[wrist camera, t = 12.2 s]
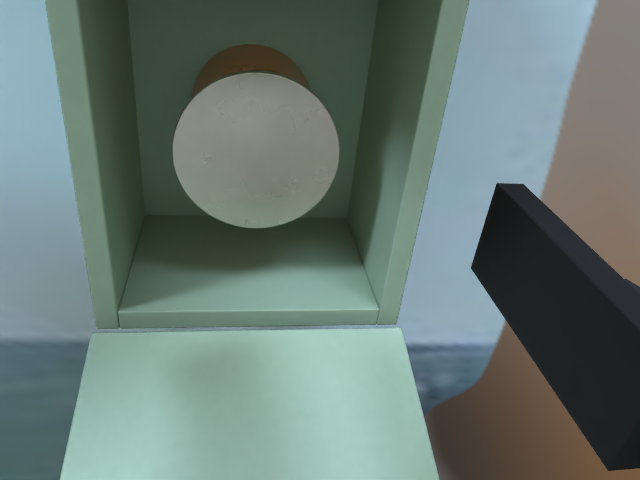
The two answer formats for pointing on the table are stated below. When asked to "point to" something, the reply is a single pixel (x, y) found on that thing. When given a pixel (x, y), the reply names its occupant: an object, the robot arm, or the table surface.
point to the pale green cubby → (222, 238)
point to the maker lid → (249, 407)
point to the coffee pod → (254, 140)
